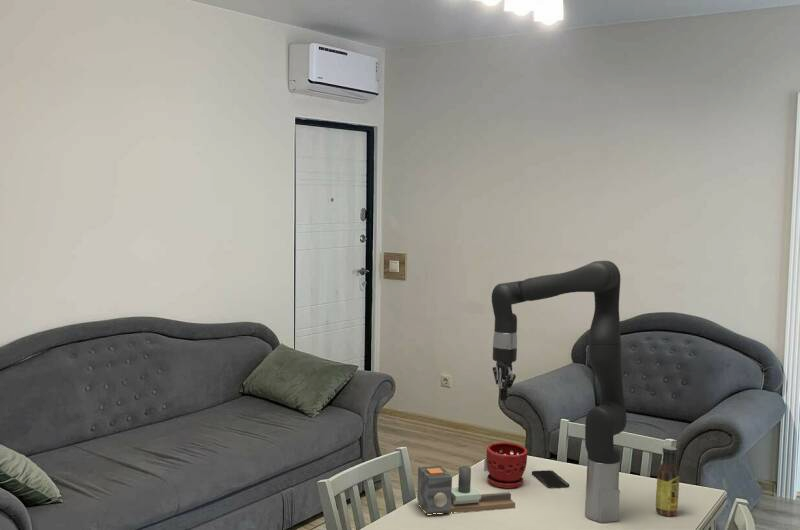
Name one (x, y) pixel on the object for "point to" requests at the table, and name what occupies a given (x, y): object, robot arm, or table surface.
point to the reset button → (434, 471)
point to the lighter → (486, 463)
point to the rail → (438, 497)
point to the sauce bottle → (667, 483)
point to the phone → (550, 479)
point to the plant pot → (506, 464)
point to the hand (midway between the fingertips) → (502, 399)
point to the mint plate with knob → (465, 488)
